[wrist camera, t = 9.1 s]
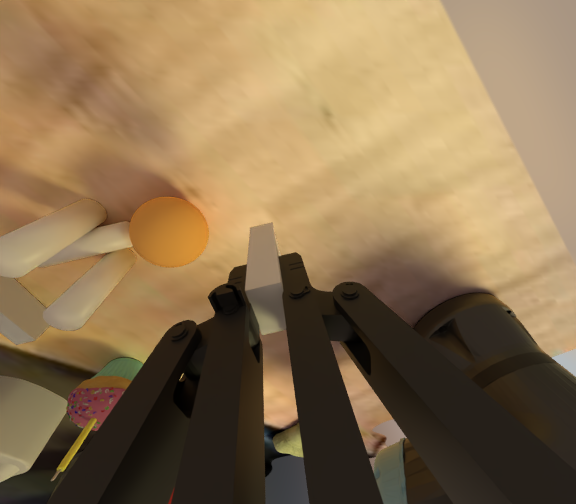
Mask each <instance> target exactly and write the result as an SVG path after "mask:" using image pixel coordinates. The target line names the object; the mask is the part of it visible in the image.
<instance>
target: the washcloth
mask: <svg viewBox="0 0 576 504" xmlns="http://www.w3.org/2000/svg"><path fill="white" fill-rule="evenodd" d="M273 443H274V446H275V448H276V450H277V451H278V452H280V453H290V454H292V455H294V456H299V457H303V451H302V443H301V435H300V428H299V423H297V425H295V426H293V427H291V428H289V429H286V430H285V431H283V432H281V433H278V434H276V435H275V436H274V437H273Z"/></svg>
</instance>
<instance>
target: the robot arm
mask: <svg viewBox="0 0 576 504" xmlns="http://www.w3.org/2000/svg"><path fill="white" fill-rule="evenodd" d="M228 280H229V281H228V283H226V284H223V285H220V286H219V287H217V288H215V289H214V290H213V291H212V292H211V293H210V294H209V296H208V299H209V301H210V303H211V305H212V307H213V309H214V311H215V316H214V317H213V318H211V319H209V320H208V321H205V322H203V323H201V324H199V325H197V324H196V323H195V322H194V321H191V320H186V321H182V322H180V323H177V324H175V325H174V326H173V327H171V328H170V329H169V330H168V331H167V332H166V333H165V335H164V336H163V337H162V339H161V340H160V342H159V343H158V345H157V346H156V347H155V349H154V350H153V352H152V353H151V355H150V356H149V357H148V359H147V360H146V362H145V363H144V365H143V366H142V367H141V369H140V370H139V372H138V373H137V375H136V376H135V377H134V379H133V380H132V382H131V383H130V385H129V386H128V387H127V389H126V390H125V392H124V393H123V395H122V396H121V397H120V399H119V400H118V402H117V403H116V405H115V406H114V407H113V409H112V410H111V412H110V413H109V415H108V416H107V417H106V419H105V420H104V422H103V423H102V425H101V426H100V427H99V429H98V430H97V432H96V433H95V435H94V436H93V437H92V439H91V440H90V442H89V443H88V445H87V446H86V447H85V449H84V450H83V452H82V453H81V455H80V456H79V457H78V459H77V460H76V462H75V463H74V465H73V466H72V467H71V469H70V470H69V472H68V473H67V475H66V476H65V477H64V479H63V480H62V482H61V483H60V485H59V486H58V487H57V489H56V490H55V492H54V493H53V495H52V496H51V497H50V499H49V500H48V502H47V503H46V504H168V503H169V500H170V497H171V495H172V492H173V490H174V492H173V496H172V501H171V504H265V454H264V401H263V349H262V342H261V339H260V337H259V329H260V331H261V334H262V335H266V334H270V333H274V332H278V331H283V330H287V337H288V345H289V352H290V360H291V367H292V375H293V382H294V390H295V398H296V405H297V413H298V420H299V428H300V435H301V443H302V451H303V458H304V465H305V473H306V480H307V488H308V496H309V503H310V504H576V377H575V376H573V374H571V373H570V372H569V371H568V370H566V369H565V368H564V367H562V366H561V365H560V364H558V363H557V362H556V361H555V360H553V359H552V358H551V357H550V356H549V355H547V354H546V353H545V352H544V351H543V350H542V349H541V348H540V347H539V346H538V345H537V343H536V342H535V341H534V339H533V338H532V337H531V335H530V334H529V333H528V331H527V330H526V329H525V327H524V326H523V325H522V323H521V322H520V321H519V320H518V319H517V318H516V315H515V314H514V312H513V311H512V310H511V309H510V308H509V307H508V306H507V305H506V304H504V303H503V302H502V301H500V300H499V299H497V298H496V297H495V296H493V295H490V294H486V293H471V294H466V295H462V296H459V297H456V298H453V299H451V300H448V301H446V302H444V303H442V304H441V305H439V306H437V307H436V308H434V309H433V310H431V311H430V312H429V313H428V314H426V315H425V316H424V317H423V318H422V319H421V320H420V321H419V322H418V324H417V325H416V326H415V328H414V329H413V328H411V327H410V326H409V325H408V324H407V323H406V322H405V321H403V320H402V319H401V318H400V317H399V316H398V315H397V314H395V313H394V312H393V311H392V310H391V309H390V308H389V307H387V306H386V305H385V304H384V303H383V302H382V301H381V300H379V299H378V298H377V297H376V296H375V295H374V294H373V293H371V292H370V291H369V290H368V289H367V288H366V287H365V286H363V285H361V284H360V283H356V282H344V283H341V284H339V285H337V286H336V287H335V288H334V290H333V292H324V291H319V290H316V289H314V288H313V287H312V286H311V284H310V282H309V279H308V276H307V273H306V270H305V267H304V264H303V261H302V258H301V256H300V255H299V254H297V253H296V252H295V253H291V254H287V255H282V256H281V254H280V250H279V246H278V242H277V238H276V234H275V231H274V227H273V223H268V224H264V225H259V226H255V227H251V228H250V237H249V248H248V260H247V265H243V266H238V267H234V269H233V270H232V271H231V272H230V274H229V279H228ZM330 341H340V343H341V345H342V346H343V348H344V349H345V351H346V352H347V353H348V355H349V356H350V358H351V359H352V360H353V362H354V363H355V365H356V366H357V368H358V369H359V370H360V372H361V373H362V375H363V376H364V378H365V379H366V380H367V382H368V383H369V385H370V386H371V387H372V389H373V390H374V392H375V393H376V395H377V396H378V397H379V399H380V400H381V402H382V403H383V404H384V406H385V407H386V409H387V410H388V412H389V413H390V414H391V416H392V417H393V419H394V420H395V421H396V423H397V424H398V426H399V427H400V429H401V430H402V431H403V433H404V434H405V436H406V437H407V438H402V439H400V441H399V442H398V443H395V444H393V445H391V446H389V447H387V448H385V449H382V450H381V451H380V452H379V453H378V454H377V456H376V459H375V463H374V473H373V470H372V467H371V464H370V461H369V458H368V455H367V452H366V448H365V445H364V442H363V439H362V436H361V433H360V430H359V427H358V424H357V421H356V418H355V415H354V412H353V409H352V406H351V403H350V400H349V397H348V394H347V391H346V388H345V385H344V382H343V379H342V376H341V372H340V369H339V366H338V363H337V360H336V357H335V354H334V351H333V348H332V345H331V342H330ZM183 373H184V374H183ZM182 374H183V376H182ZM181 376H182V378H181ZM180 378H181V379H180ZM174 487H175V488H174Z"/></svg>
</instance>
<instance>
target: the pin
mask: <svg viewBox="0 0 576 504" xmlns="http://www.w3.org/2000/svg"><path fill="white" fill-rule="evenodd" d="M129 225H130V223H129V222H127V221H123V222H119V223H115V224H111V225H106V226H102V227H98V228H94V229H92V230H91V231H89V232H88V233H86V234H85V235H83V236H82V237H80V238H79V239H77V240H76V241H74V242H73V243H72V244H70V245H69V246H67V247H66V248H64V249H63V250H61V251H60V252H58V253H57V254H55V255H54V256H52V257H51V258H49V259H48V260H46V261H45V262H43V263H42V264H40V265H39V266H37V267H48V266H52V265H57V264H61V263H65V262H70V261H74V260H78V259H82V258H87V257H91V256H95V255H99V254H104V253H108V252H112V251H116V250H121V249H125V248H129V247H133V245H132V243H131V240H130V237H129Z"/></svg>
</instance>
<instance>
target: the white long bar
mask: <svg viewBox="0 0 576 504" xmlns="http://www.w3.org/2000/svg"><path fill="white" fill-rule="evenodd" d="M46 309H47V308H45V307H44V306H43V305H42V304H41V303H40V302H39V301H38V300H37V299H36V298H35V297H34V296H33V295H31V294H30V293H29V292H28V291H27V290H26V289H25V288H24V287H23V286H22V285H21V284H20V283H19V282H18V281H16V280H15V279H14V278H9V277H4V276H0V333H1V334H3V335H4V336H5V337H7V338H8V339H9V340H11V341H12V342H13V343H15V344H16V345H18V344H23V343H27V342H31V341H35V340H36V339H37V338H38V337H39V336H40V335H41V334H42V333H43V332H44V331H45V330H46V329H47V328H48V327H49V326H50V325H49V324H48V323H47V322H46V321H45V320H44V318H43V312H44V310H46Z"/></svg>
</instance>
